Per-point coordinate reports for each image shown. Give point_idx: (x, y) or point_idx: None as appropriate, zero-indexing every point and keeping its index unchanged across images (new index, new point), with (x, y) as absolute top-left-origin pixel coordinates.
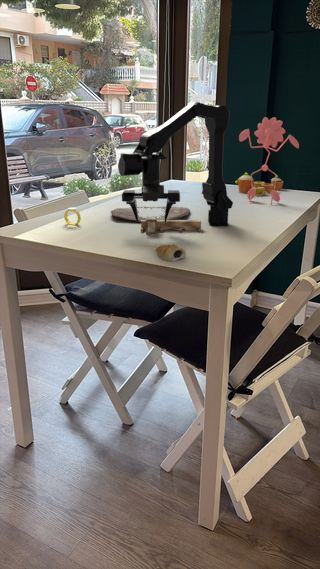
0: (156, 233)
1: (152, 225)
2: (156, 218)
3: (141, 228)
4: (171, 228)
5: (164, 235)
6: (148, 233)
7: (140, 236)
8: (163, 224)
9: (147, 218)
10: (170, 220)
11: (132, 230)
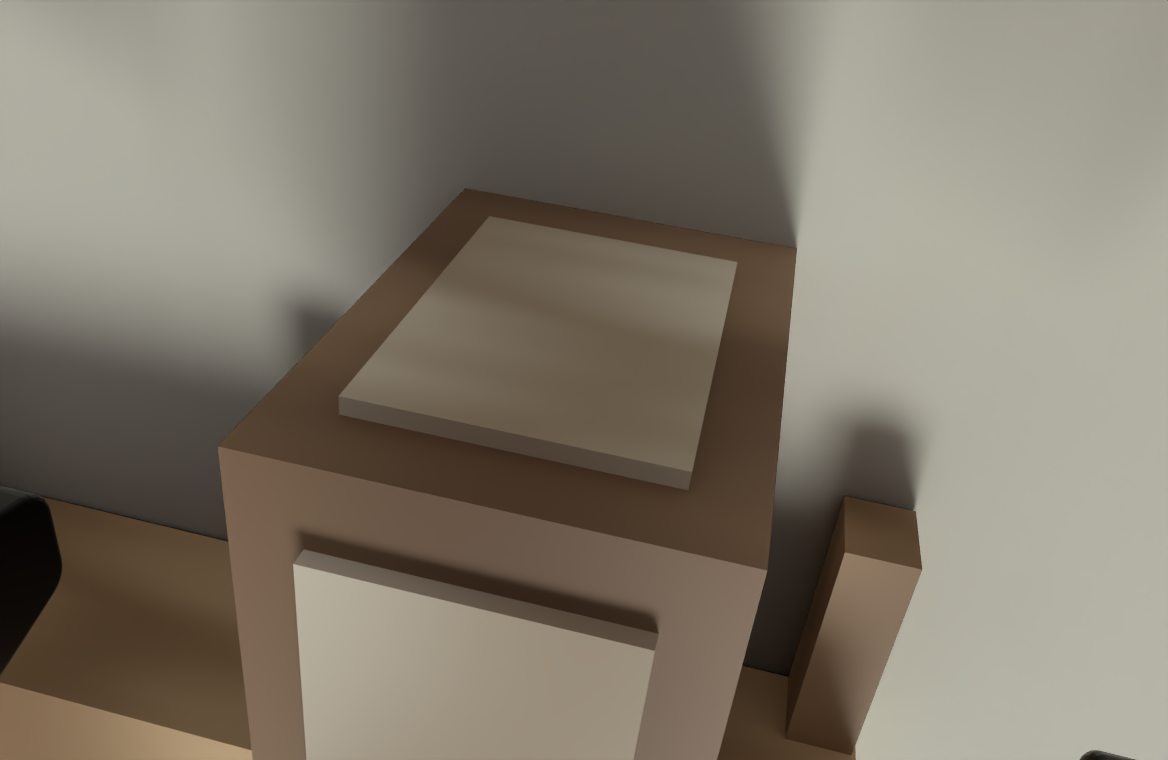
0: (463, 201)
1: (512, 336)
2: (258, 661)
3: (879, 631)
4: (99, 542)
5: (233, 47)
6: (718, 251)
7: (1064, 19)
8: (229, 660)
9: (658, 757)
10: (16, 754)
11: (1112, 705)
